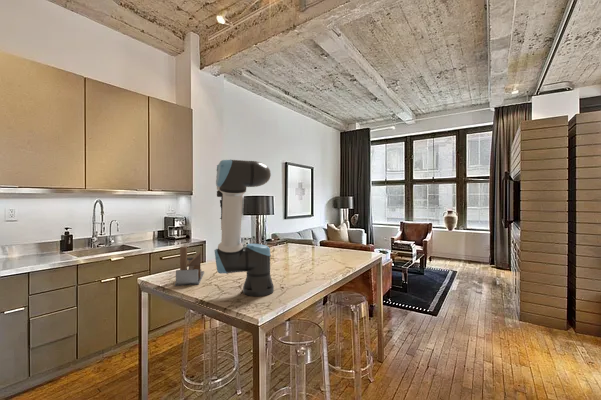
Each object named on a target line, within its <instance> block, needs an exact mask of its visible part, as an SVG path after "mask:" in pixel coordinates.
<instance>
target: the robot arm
mask: <svg viewBox="0 0 601 400" xmlns="http://www.w3.org/2000/svg"><path fill="white" fill-rule="evenodd" d="M271 176H272V174H271V170H270V168H269V166H267V164H265V163H262V162H260V161H256V160H239V159H222V160H220V161H219V163H218V164H217V165H216V178H215V185H216V190H217V191H216V197H217V198H221V199H219V204H220V209H221V210H220V218H219V219H220V230H221V240H220V241H221V242H220V243H219V244H218V245H217V248H215V249H214V257H215V258H214V259H215V265H216V272H217V273H218V274H226V275H227V274H228V275H229V274H233V273H234V274H235V273H245V272H246V277H245V281H244V283H243V286H242V293H243V294H244V295H245V296H250V297H263V296H267V295H272V293H274V292H275V288H274V287H275V285H274V283H273V280H272V277H271V256H272V255H271V248H270V247H269V246H268V245H265V244H261V243H247V244H246V245H245V246H246V247H244V244H243V243H242V242H241V234H242V233H241V231H242V211H243V195H244V194H245V193H246V192H247V188H256V187H261V186H263V185H265V184H267V183H268V182H269V180H270V179H271Z"/></svg>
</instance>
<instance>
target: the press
mask: <svg viewBox="0 0 601 400" xmlns="http://www.w3.org/2000/svg"><path fill="white" fill-rule="evenodd" d="M204 274H205V270H201V277H200V278H198V269H189V268H187V270H180V269H176V270H175V282H174V287H179V286H195V285H196V286H197V285H198V286H199V285H200V284H201V281H202V278H203V276H204Z"/></svg>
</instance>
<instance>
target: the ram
mask: <svg viewBox="0 0 601 400" xmlns="http://www.w3.org/2000/svg"><path fill="white" fill-rule="evenodd" d="M194 257H195V256H194ZM194 257H187V261H188V263H189V262H190V261H191V260H192V259H193V258H194ZM188 269H193V266H188Z"/></svg>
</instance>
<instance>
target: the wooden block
mask: <svg viewBox="0 0 601 400" xmlns="http://www.w3.org/2000/svg"><path fill="white" fill-rule="evenodd" d="M187 258H188V246H186V245H185V246H184V245H182V246H180V247H179V270H188V268H189V266H193V269H198V278H200V277H201V271H202V268H201V267H202V266H201V252H200V251H198V253H197V254H196V255H195V256H194V258H193V259H192V260H191V261H190V262H189V261H188V260H187Z"/></svg>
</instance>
